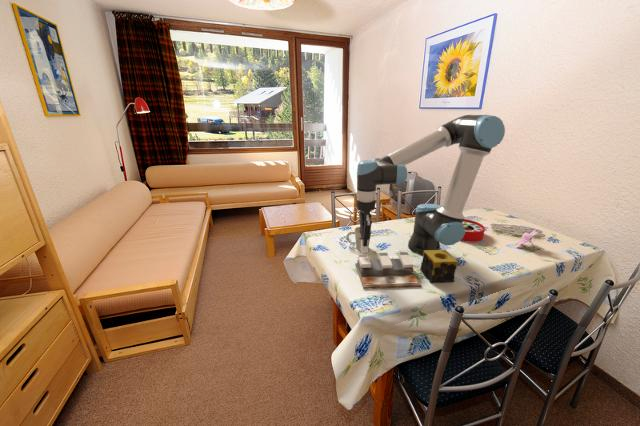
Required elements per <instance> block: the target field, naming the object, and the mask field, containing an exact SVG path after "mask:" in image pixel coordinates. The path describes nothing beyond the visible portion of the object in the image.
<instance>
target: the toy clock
mask: <svg viewBox="0 0 640 426" xmlns="http://www.w3.org/2000/svg"><path fill="white" fill-rule="evenodd" d="M462 224H463V225H464V228H465V234H464V236H463V238H462V239H461V240H460V241H459V242H461V241H462V242H466V243H467V242H468V243H477V242H481V241H482V240H483V239H484V234H485V230H486V227H485V226H484V225H483V224H482V223H480V222H477V221H475V220H472V219H471V220H470V219H467V218H464V220H463V223H462Z"/></svg>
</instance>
